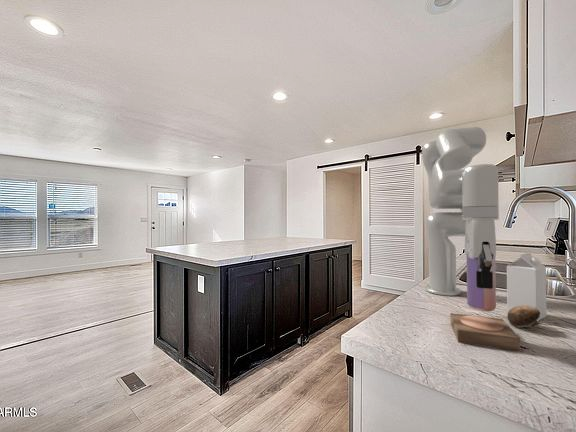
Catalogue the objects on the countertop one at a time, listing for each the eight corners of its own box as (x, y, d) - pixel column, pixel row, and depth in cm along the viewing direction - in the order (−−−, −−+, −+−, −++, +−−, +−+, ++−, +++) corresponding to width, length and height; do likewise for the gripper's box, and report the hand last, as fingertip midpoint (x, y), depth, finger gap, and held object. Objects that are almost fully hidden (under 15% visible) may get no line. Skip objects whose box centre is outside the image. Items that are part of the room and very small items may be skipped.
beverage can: (468, 309, 68) (467, 249, 68) (465, 302, 73) (465, 247, 73) (498, 313, 65) (497, 251, 65) (493, 305, 70) (492, 248, 70)
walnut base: (450, 323, 77) (450, 311, 77) (502, 330, 72) (502, 317, 72) (458, 342, 66) (458, 327, 66) (520, 351, 61) (520, 335, 61)
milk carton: (506, 314, 83) (506, 252, 83) (517, 309, 87) (516, 250, 87) (536, 322, 77) (536, 255, 77) (546, 317, 81) (546, 253, 80)
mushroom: (554, 317, 72) (536, 297, 74) (545, 336, 68) (525, 314, 70) (524, 322, 79) (507, 303, 80) (514, 339, 75) (497, 318, 76)
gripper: (456, 214, 78) (457, 276, 78) (470, 214, 62) (471, 292, 62) (488, 213, 75) (488, 278, 75) (510, 213, 59) (511, 295, 59)
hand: (480, 283), depth 69 cm, fingers closed on beverage can, 6 cm apart
